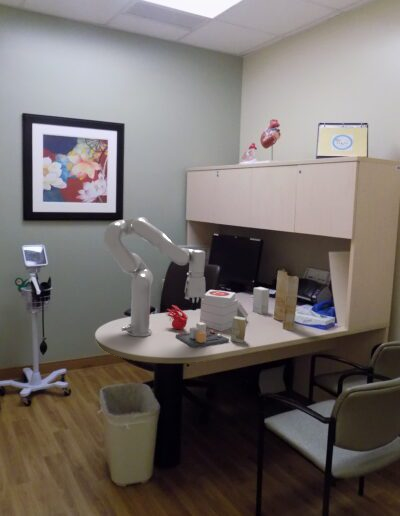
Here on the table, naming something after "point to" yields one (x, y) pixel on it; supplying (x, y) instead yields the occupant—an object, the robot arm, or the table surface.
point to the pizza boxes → (220, 309)
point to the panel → (211, 339)
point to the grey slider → (193, 332)
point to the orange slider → (201, 336)
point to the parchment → (286, 299)
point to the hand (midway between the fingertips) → (193, 309)
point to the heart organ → (177, 318)
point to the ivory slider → (201, 326)
